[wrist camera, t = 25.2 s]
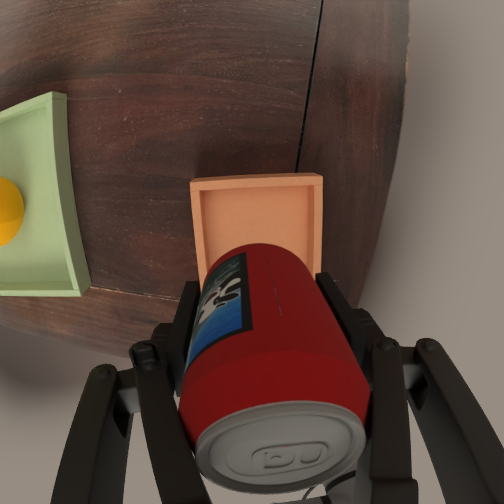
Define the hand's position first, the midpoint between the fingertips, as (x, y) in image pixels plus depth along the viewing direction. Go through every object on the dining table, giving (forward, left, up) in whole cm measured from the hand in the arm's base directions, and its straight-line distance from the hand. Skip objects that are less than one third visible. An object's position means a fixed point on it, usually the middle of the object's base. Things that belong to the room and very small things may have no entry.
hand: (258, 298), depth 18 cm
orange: (+6, +28, -13) cm, 32 cm away
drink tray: (-1, -1, -13) cm, 13 cm away
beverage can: (0, 0, -1) cm, 1 cm away
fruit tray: (+6, +28, -13) cm, 32 cm away
